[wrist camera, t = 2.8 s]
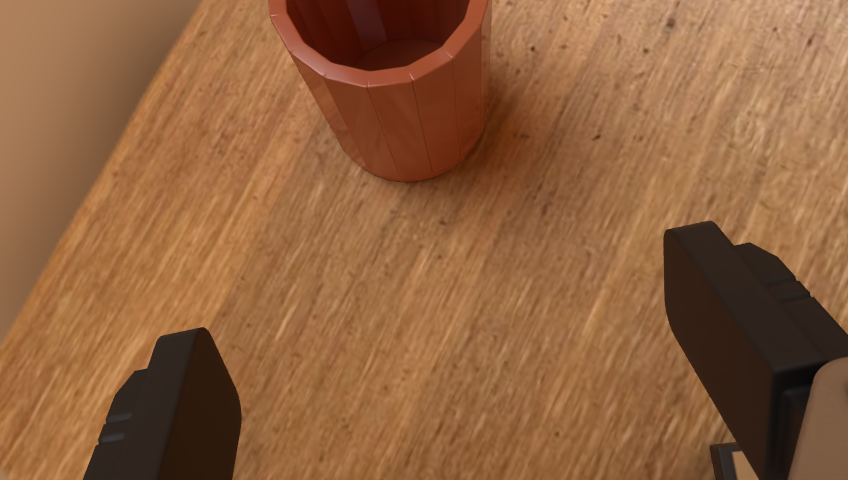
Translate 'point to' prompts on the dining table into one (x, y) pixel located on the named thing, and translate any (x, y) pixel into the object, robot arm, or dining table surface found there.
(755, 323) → the robot arm
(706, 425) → the dining table surface
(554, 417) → the dining table surface
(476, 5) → the pot
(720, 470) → the board
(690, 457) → the dining table surface
